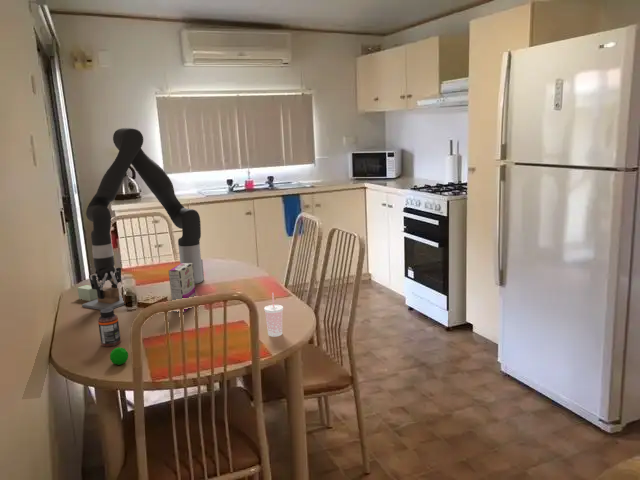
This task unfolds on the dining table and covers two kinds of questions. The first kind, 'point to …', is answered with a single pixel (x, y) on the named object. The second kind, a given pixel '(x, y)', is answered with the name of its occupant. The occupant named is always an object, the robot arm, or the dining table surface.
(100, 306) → the plate
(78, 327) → the dining table surface
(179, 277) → the candy bar box
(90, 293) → the sage brick
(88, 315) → the dining table surface
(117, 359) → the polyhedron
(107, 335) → the supplement bottle
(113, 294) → the walnut brick
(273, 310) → the beverage cup
